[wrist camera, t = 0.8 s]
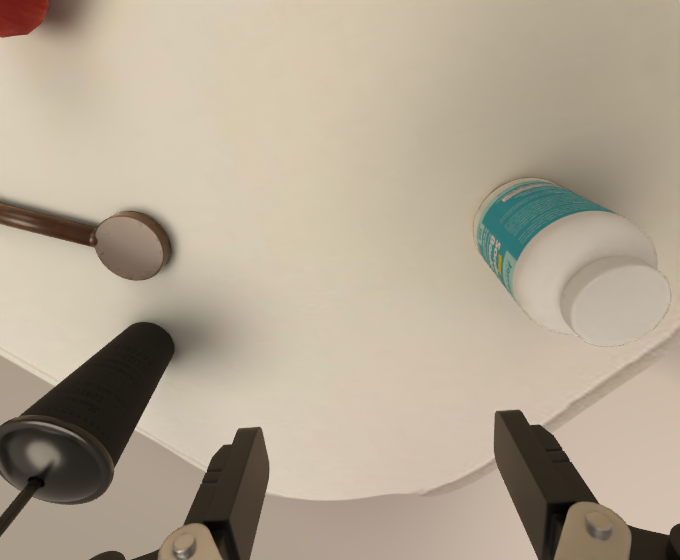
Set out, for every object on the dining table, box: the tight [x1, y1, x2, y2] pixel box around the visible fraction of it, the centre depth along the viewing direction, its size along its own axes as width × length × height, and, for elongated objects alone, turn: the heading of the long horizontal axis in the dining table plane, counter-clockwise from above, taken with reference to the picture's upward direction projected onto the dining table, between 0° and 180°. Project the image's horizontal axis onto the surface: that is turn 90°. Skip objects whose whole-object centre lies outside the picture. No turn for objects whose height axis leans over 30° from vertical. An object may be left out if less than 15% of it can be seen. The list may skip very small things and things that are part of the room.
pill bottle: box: [473, 178, 671, 347], centre depth 25 cm, size 8×7×14 cm
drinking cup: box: [0, 322, 174, 537], centre depth 29 cm, size 8×8×20 cm
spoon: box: [0, 203, 171, 280], centre depth 32 cm, size 6×20×2 cm, turn 75°
